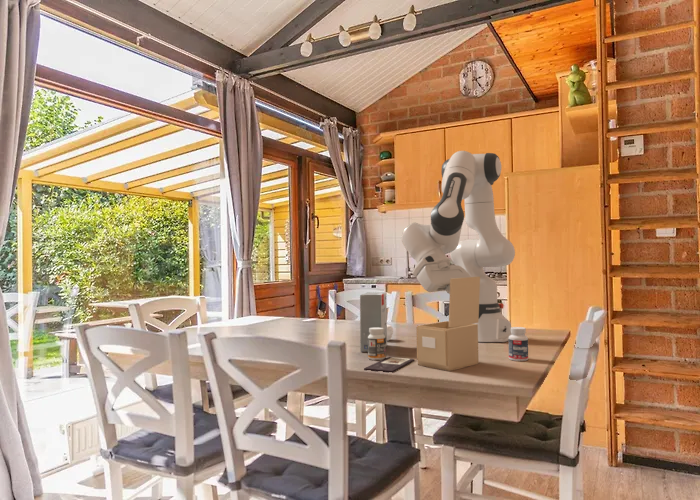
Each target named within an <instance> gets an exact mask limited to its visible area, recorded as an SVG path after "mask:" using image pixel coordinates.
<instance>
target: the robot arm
mask: <svg viewBox="0 0 700 500" xmlns="http://www.w3.org/2000/svg"><path fill="white" fill-rule="evenodd" d="M501 173H502V162H501V159H500V157H499V155H497V154H496V153H495V152H494V153H492V152H486V153H471V152H469V151H468V150H467V151H466V150H458V151H456V152H454V153H453V154H452V155H451V156H450V158H448V159H446V160H445V161H444V162H443V163H442V165H441V178H442V180H441V193H442V195H441V198H440V200H439V202H437V204H436V205H435V206H434V207H432V210H431V212H430V224H420V223H418V222H412V223H410V224H409V225H407V226H406V227H405V229H403V231H402V234H401V243H402V244H403V247H404V248H405V250H406V251H407V253H408V254H409V255H410V257H411V258H412V259H414V261H415V262H416V265H415V267H414V268H413V270H412V272H411V274H412V276H414V278H416V279H417V281H418V283H419V284H420V285H421V287H422V288H423V290H425V291H427V292H428V293H435V292H447V294H449V295H450V279H452V278H466V277H480V293H479V319H478V323H473V324H478V343H506V342H509V336H510V335H512V333H511V327H512V323H511V321H510V320H509V319H508V318H506V316H505V315H504V314H502V313H501V310H503V309H504V303H503V302H502V303H500V302H499V303H498V284H497V282H496V281H495V280H494V279H493V278H492V277H490V276H488V275H487V274H486V273H485V270H484V268H500V267H505V266H509V265H510V264H511V263H512V262H513V261H514V259H515V256H516V250H515V247H514V244H513V243H512V242H511V241H510V239H507V238H506V237H505V235H503V234H502V232H501V231H500V229H499V227H498V225H497V221H496V214H495V203H494V202H495V201H494V199H495V198H494V191H493V187H492V186H493V185H494V184H495V182H496V181H497V180H498V179H500V176H501ZM463 200H464V203H463V204H464V210H463V207H462V201H463ZM464 220H465V224H466V225H467V226H468V228H469V229H471V230H474V231H475V232H476V233H477V234H478V235H477V236H478V238H476V239H475V238H470V239H469V238H468V239H463V240H460V237H461V233H462V229H463V228H462V227H463V224H464ZM447 254H449V255H450V258H449V257H448V256H447ZM450 259H451V260H450ZM451 261H452V264H451Z"/></svg>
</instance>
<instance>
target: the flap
mask: <svg viewBox="0 0 700 500" xmlns="http://www.w3.org/2000/svg"><path fill="white" fill-rule="evenodd" d="M479 293H480V277H466V278H452V279H450V294H449V301H448V303H449V304H448V306H449V307H448V321H449V327H455V326H461V325H467V324H473V323H478V319H479Z"/></svg>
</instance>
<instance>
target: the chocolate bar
mask: <svg viewBox="0 0 700 500" xmlns="http://www.w3.org/2000/svg"><path fill="white" fill-rule="evenodd" d="M413 362H415V358H402V357H391V356H388V357H386V358H385V359H383V360H378V361H377V362H375V363H372V364H371V365H368V366H366V367H363V370H364V371H367V370H371V371H370V372H378V371H383V372H382V373H389V372H392V374H393V373H395V372H397V371H399V370H400V369H403V368H404V367H406V366H408V365H409V364H412V363H413ZM398 369H399V370H398ZM396 370H397V371H396Z"/></svg>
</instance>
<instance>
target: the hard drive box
mask: <svg viewBox="0 0 700 500" xmlns="http://www.w3.org/2000/svg"><path fill="white" fill-rule="evenodd" d="M387 305H388V303H387V292H383V291H382V292H379V291H378V292H376V291H375V292H374V291H373V292H365V293H362V294H360V296H359V350H360V351H359V352H364V353H365V352H367V353H368V336H369V335H370V332H369V328H375V327H379V328H383V329H384V332H383V335H385V342H386V347H387V346H388V341H387V325H388V322H387V321H388V317H387V311H388V309H387Z"/></svg>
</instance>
